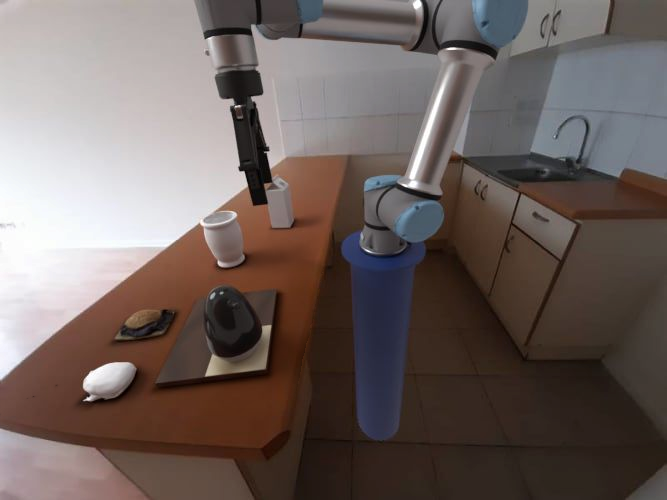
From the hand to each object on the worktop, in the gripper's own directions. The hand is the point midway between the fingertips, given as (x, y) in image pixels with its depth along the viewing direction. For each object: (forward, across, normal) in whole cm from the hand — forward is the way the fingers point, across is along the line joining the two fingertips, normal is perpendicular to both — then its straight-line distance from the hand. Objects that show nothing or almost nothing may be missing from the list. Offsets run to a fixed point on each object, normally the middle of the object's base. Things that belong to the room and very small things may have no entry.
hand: (264, 192), depth 57 cm
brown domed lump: (+27, +5, -33) cm, 43 cm away
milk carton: (+28, -45, -2) cm, 53 cm away
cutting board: (+27, +10, -13) cm, 32 cm away
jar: (+27, -21, -18) cm, 39 cm away
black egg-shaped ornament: (+26, +17, -9) cm, 32 cm away
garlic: (+27, +20, -32) cm, 46 cm away
